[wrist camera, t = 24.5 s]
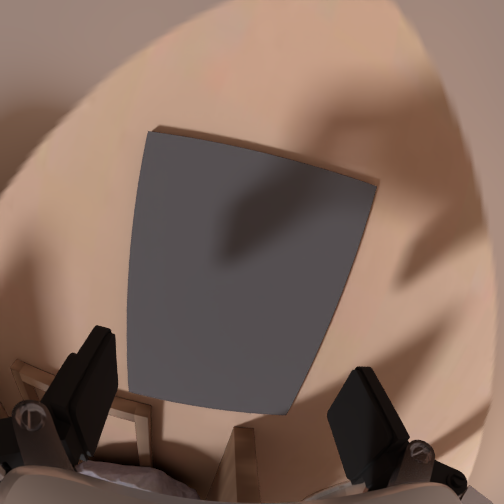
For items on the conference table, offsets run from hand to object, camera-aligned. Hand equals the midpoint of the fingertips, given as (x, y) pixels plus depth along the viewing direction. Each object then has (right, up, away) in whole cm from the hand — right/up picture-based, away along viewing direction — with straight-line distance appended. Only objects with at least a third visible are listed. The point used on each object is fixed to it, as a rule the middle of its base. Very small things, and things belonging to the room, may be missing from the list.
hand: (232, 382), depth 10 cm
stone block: (-14, -14, +8) cm, 21 cm away
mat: (0, +2, +5) cm, 5 cm away
